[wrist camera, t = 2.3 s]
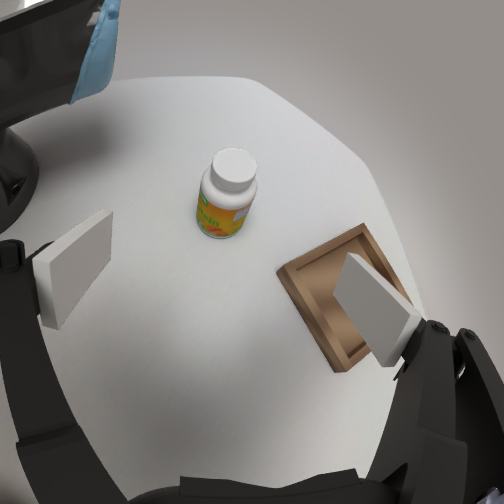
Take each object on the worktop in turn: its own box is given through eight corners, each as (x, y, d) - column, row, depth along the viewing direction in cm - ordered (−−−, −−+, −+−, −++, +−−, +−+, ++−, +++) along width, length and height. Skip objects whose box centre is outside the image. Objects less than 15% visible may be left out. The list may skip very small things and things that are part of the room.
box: (275, 273, 31) (283, 265, 29) (353, 231, 36) (363, 222, 34) (334, 372, 28) (346, 372, 26) (402, 313, 33) (415, 309, 31)
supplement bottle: (186, 215, 32) (191, 158, 23) (220, 191, 34) (236, 133, 25) (218, 249, 31) (234, 200, 22) (252, 221, 33) (277, 169, 25)
